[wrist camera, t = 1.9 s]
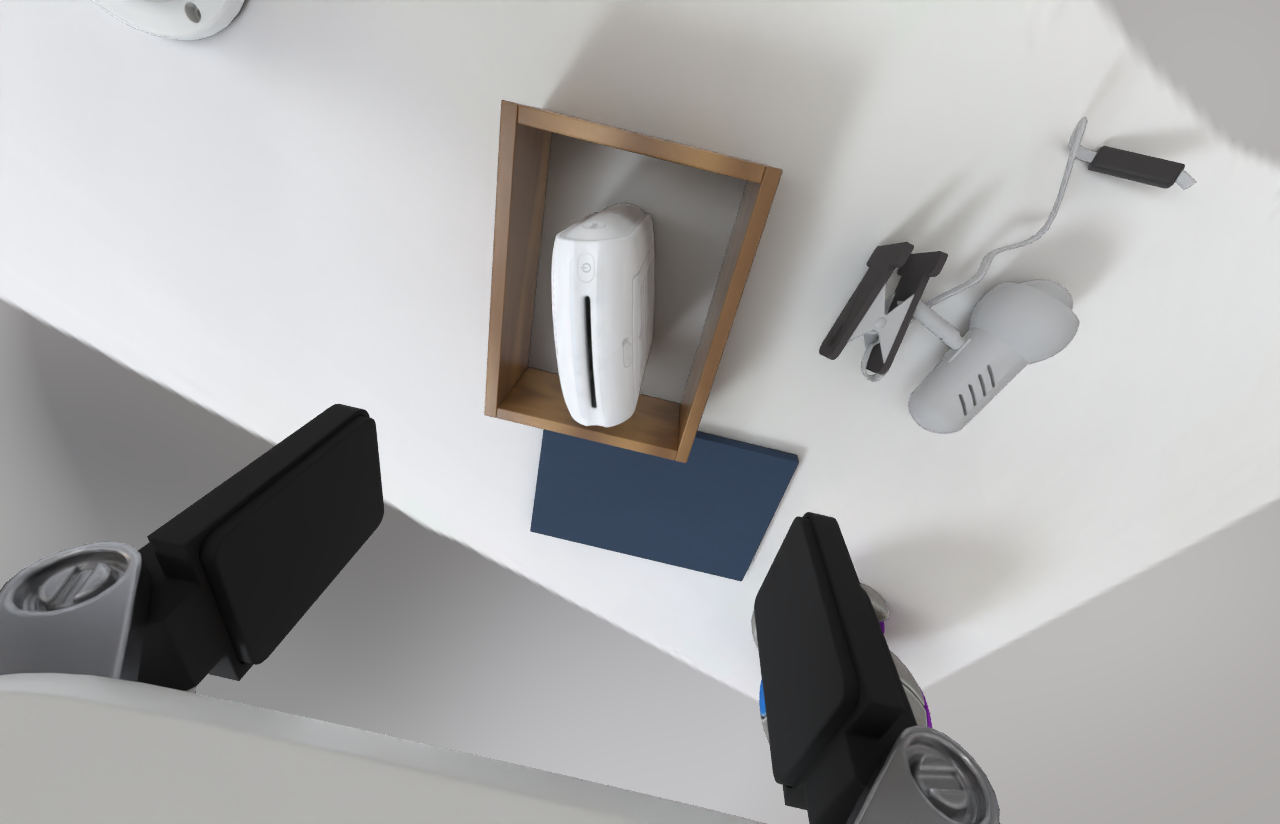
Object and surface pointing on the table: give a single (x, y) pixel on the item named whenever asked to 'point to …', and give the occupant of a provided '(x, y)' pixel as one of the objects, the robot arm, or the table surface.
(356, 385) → the table surface
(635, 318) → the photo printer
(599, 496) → the mat
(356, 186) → the table surface
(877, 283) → the clip-on lamp
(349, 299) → the table surface
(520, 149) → the wooden box
